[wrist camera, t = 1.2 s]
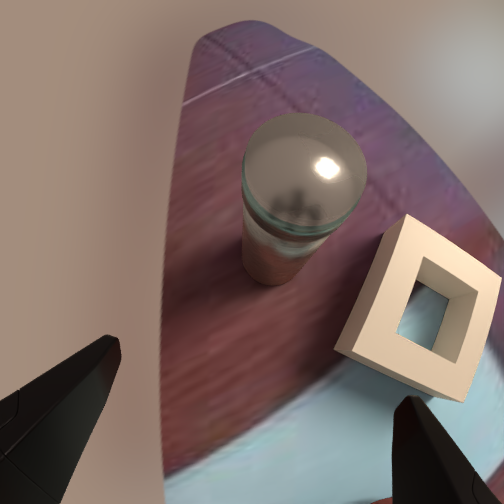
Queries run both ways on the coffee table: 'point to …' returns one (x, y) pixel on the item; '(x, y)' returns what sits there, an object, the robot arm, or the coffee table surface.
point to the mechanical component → (384, 501)
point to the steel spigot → (296, 192)
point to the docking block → (395, 300)
